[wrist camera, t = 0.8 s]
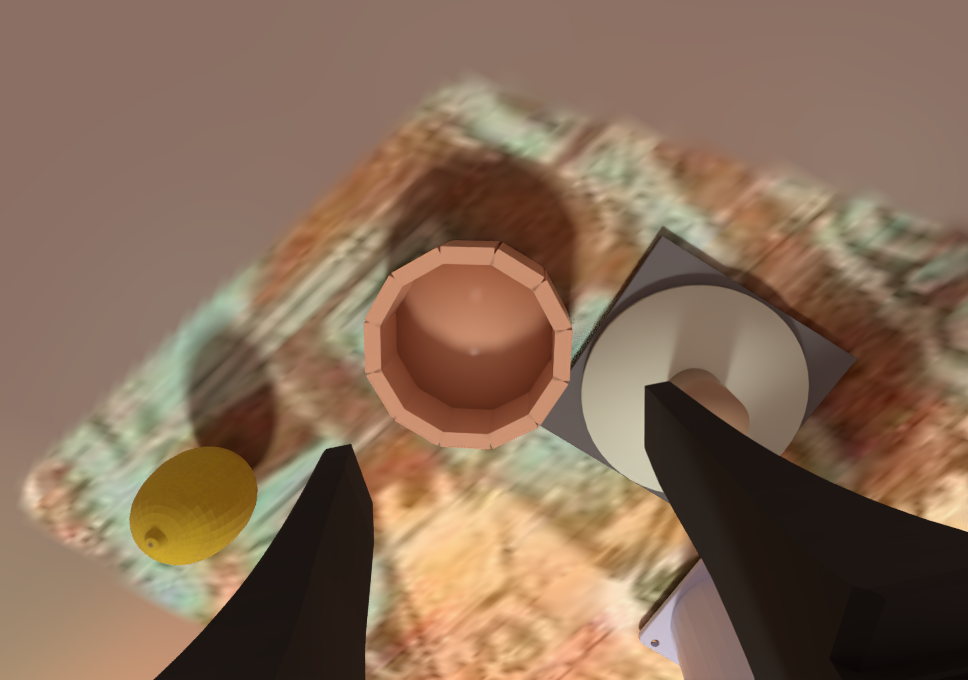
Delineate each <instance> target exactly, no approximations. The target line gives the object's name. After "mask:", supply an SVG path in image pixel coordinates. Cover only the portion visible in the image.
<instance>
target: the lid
mask: <svg viewBox="0 0 968 680" xmlns="http://www.w3.org/2000/svg"><path fill="white" fill-rule="evenodd" d="M666 381H670V382H671V383H673V384H674V385H675V386H677V387H678V388H680V389H681V390H682V391H684V392H685V393H686V394H688V395H689V396H690V397H692V398H693V399H694V400H696V401H697V402H699V403H700V404H701V405H703V406H704V407H705V408H707V409H708V410H710V411H711V412H712V413H714V414H715V415H716V416H718V417H719V418H721V419H722V420H724V421H725V422H727V423H728V424H729V425H731V426H732V427H734V428H735V429H737V430H738V431H740V432H741V433H743V434H744V435H746V436H747V437H749V438H751V439H752V440H754V441H755V442H757V443H759V444H760V445H762V446H764V447H765V448H767V449H769V450H770V451H772V452H774V453H775V454H777V455H779V456H780V455H781V454H782V453H783V452H784V451H785V450H786V448H787V447H788V445H789V444H790V443H791V441H792V440H793V438H794V436H795V435H796V433H797V431H798V429H799V427H800V425H801V422H802V419H803V417H804V414H805V410H806V405H807V401H808V391H809V380H808V370H807V365H806V360H805V357H804V354H803V352H802V349H801V346H800V344H799V342H798V341H797V339H796V337H795V335H794V333H793V332H792V331H791V329H790V328H789V327H788V326H787V324H786V323H785V322H784V321H783V320H782V319H781V318H780V317H779V316H778V315H777V314H776V313H775V312H774V311H772V310H771V309H770V308H768V307H767V306H766V305H764V304H763V303H761V302H759V301H757V300H755V299H754V298H752V297H750V296H748V295H746V294H743V293H740V292H738V291H735V290H732V289H728V288H724V287H719V286H712V285H684V286H678V287H672V288H668V289H665V290H661V291H658V292H655V293H653V294H651V295H648V296H646V297H644V298H642V299H640V300H638V301H637V302H635V303H633V304H632V305H630V306H629V307H627V308H626V309H625V310H623V311H622V312H621V313H619V314H618V315H617V316H616V317H615V318H614V319H613V320H612V321H611V322H610V323H609V324H608V325H607V326H606V328H605V329H604V330H603V332H602V333H601V334H600V335H599V337H598V339H597V340H596V342H595V344H594V345H593V347H592V349H591V351H590V354H589V356H588V358H587V361H586V364H585V368H584V372H583V377H582V385H581V402H582V408H583V414H584V419H585V422H586V425H587V429H588V431H589V433H590V436H591V438H592V440H593V442H594V444H595V445H596V447H597V448H598V450H599V451H600V453H601V454H602V455H603V456H604V458H605V459H606V460H607V461H608V462H609V463H610V464H611V465H612V466H613V467H614V468H615V469H616V470H617V471H619V472H620V473H621V474H623V475H624V476H626V477H627V478H629V479H630V480H632V481H634V482H636V483H638V484H640V485H642V486H644V487H647V488H650V489H653V490H656V491H660V492H663V490H662V488H661V487H660V485H659V483H658V480H657V478H656V475H655V473H654V471H653V468H652V466H651V463H650V461H649V458H648V456H647V453H646V451H645V448H644V392H645V385H651V384H656V383H661V382H666Z"/></svg>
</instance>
